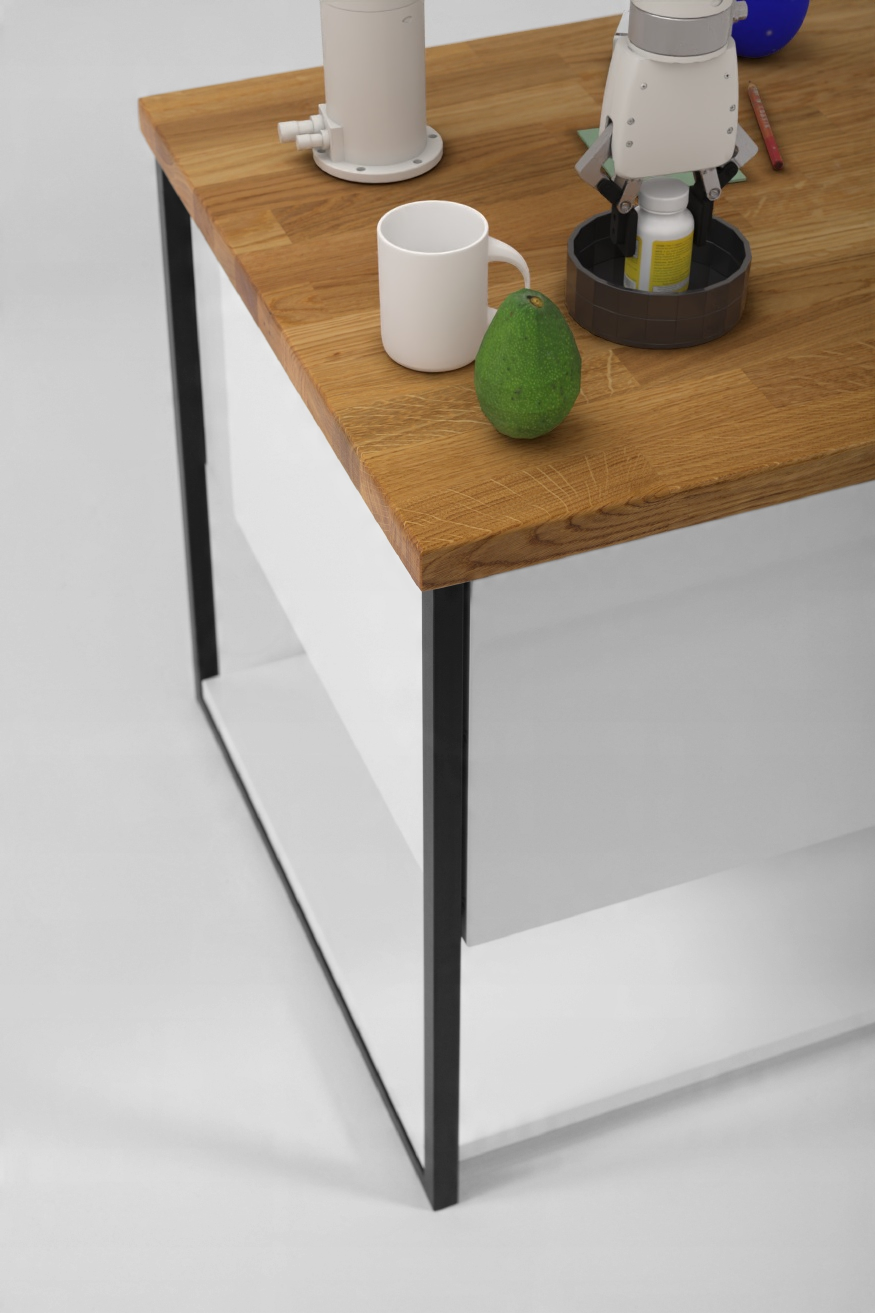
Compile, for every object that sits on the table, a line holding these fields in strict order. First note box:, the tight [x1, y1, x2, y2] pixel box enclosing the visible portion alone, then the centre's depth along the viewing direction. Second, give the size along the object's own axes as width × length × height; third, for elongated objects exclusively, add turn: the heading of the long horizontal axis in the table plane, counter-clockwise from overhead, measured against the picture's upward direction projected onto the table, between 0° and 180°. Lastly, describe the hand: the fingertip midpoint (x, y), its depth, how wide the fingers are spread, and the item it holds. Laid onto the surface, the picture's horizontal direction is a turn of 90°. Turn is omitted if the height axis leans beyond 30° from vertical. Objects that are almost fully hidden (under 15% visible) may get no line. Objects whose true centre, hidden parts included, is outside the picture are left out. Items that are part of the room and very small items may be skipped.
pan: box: [564, 204, 753, 350], centre depth 136 cm, size 15×15×5 cm
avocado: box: [473, 287, 583, 440], centre depth 120 cm, size 8×8×12 cm
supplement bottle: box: [623, 177, 694, 292], centre depth 134 cm, size 5×5×10 cm
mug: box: [376, 199, 531, 373], centre depth 129 cm, size 9×12×11 cm
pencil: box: [747, 80, 785, 170], centre depth 161 cm, size 19×1×1 cm, turn 0°
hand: (659, 242), depth 134 cm, fingers closed on supplement bottle, 5 cm apart
